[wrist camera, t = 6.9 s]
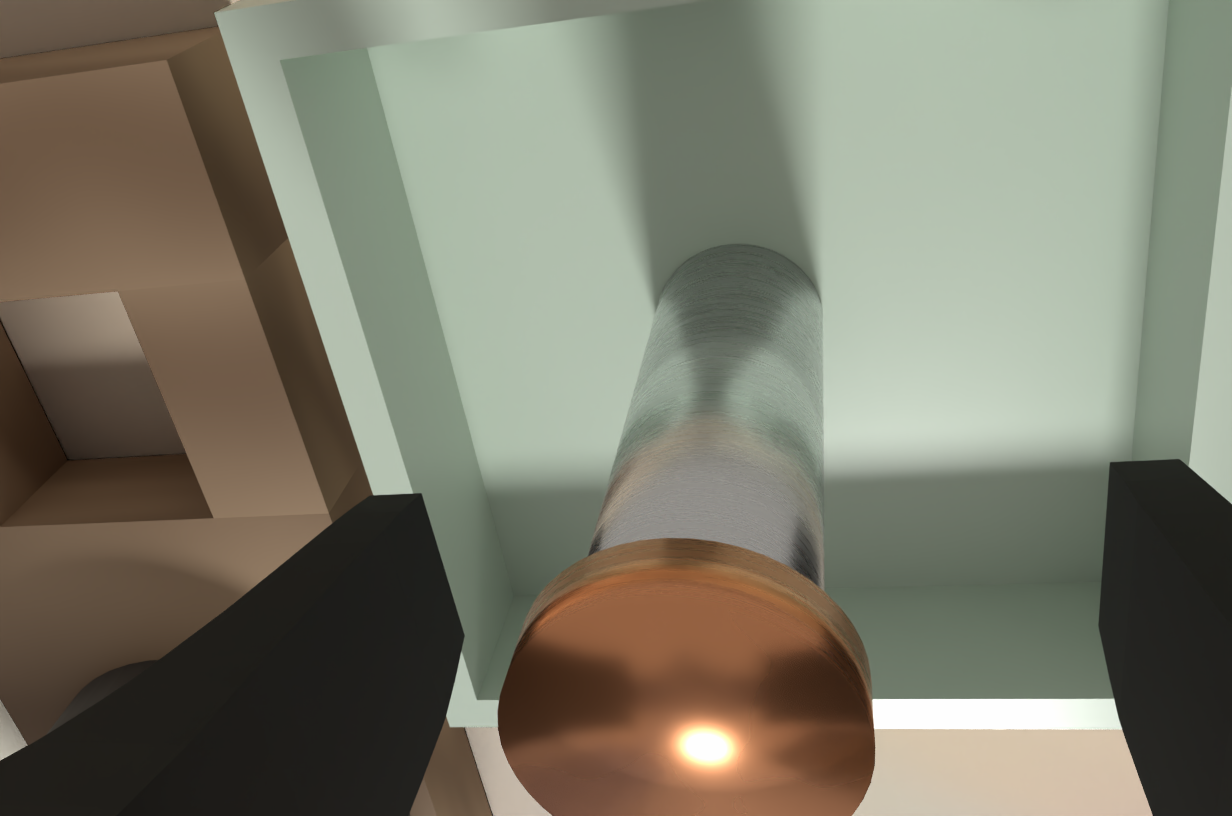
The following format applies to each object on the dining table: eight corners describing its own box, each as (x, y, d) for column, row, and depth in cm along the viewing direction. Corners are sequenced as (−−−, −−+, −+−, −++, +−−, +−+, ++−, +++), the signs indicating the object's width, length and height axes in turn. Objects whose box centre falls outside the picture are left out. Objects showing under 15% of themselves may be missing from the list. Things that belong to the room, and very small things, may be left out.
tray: (1151, 589, 18) (1205, 729, 16) (495, 603, 20) (449, 727, 18) (1229, -181, 13) (1331, -157, 10) (316, -36, 15) (213, 12, 12)
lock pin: (857, 408, 17) (883, 874, 10) (646, 420, 17) (536, 864, 11) (845, 205, 15) (865, 595, 8) (613, 227, 16) (459, 605, 9)
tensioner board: (507, 863, 24) (434, 1129, 20) (183, 853, 26) (45, 1095, 22) (238, 23, 16) (-11, 151, 11) (-227, 92, 17) (-611, 227, 13)
